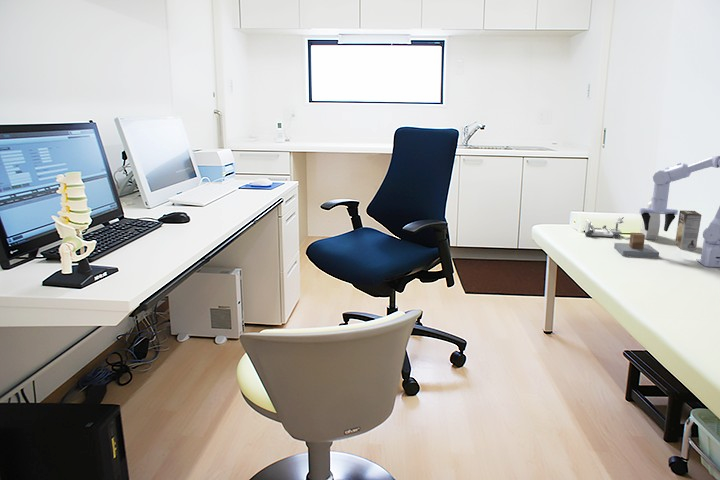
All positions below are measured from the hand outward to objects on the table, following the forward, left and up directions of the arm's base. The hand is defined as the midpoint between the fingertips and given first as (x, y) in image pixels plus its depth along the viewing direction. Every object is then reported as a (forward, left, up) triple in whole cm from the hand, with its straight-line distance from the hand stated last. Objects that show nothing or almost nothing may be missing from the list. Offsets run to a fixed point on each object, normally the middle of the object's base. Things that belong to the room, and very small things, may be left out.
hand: (655, 230), depth 241 cm
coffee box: (+13, -17, -10) cm, 24 cm away
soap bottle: (+31, -7, -10) cm, 34 cm away
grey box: (-2, +8, -10) cm, 13 cm away
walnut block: (-2, +8, -7) cm, 11 cm away
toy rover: (+31, +13, -10) cm, 36 cm away
